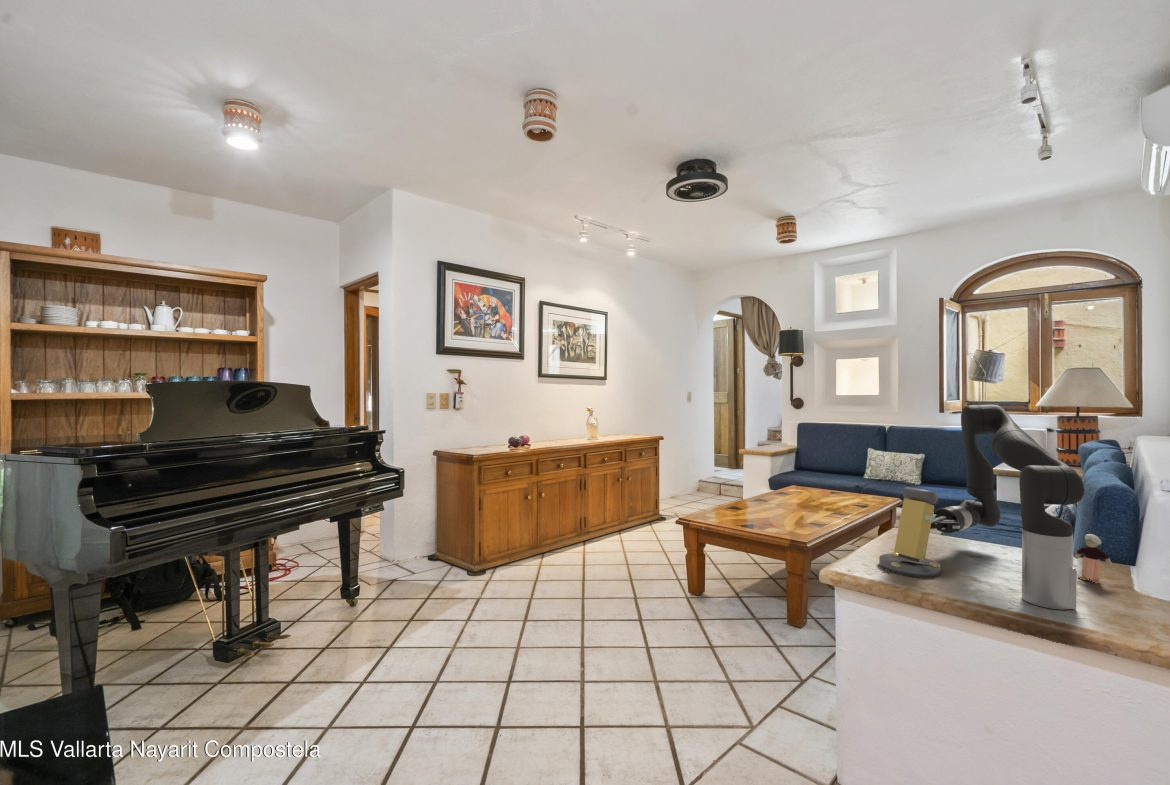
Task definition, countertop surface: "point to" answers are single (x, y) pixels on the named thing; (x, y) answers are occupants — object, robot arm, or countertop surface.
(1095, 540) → the grandmother figurine
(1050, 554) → the robot arm
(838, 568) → the countertop surface
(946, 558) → the countertop surface
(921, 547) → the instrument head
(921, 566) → the levelling base
